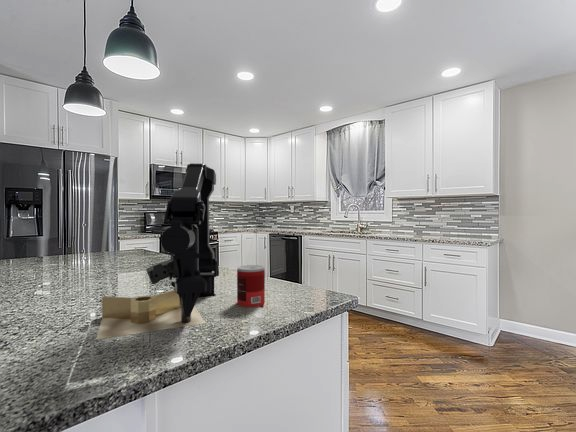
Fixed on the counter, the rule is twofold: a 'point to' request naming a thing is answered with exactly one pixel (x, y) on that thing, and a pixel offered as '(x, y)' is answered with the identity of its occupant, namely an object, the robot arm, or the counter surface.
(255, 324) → the counter surface
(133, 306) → the spoked octagonal hub
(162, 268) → the robot arm
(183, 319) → the pin
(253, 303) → the canned food
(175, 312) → the mounting board
